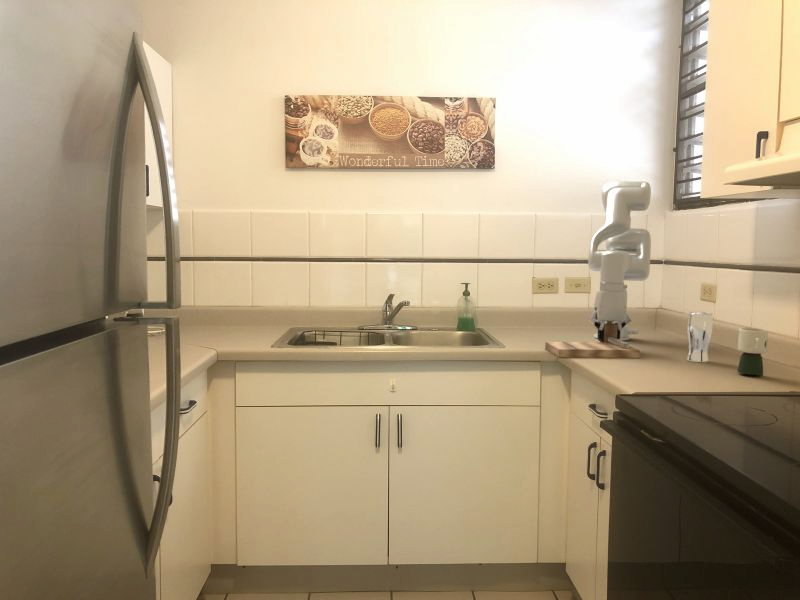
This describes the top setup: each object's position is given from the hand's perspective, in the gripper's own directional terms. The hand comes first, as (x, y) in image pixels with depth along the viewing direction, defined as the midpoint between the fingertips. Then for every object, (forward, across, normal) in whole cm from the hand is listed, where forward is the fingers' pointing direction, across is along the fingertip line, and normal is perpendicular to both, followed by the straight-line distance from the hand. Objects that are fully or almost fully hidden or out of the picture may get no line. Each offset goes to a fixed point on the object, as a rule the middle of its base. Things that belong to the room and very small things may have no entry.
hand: (608, 340), depth 213 cm
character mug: (+3, -24, +40) cm, 47 cm away
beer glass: (+3, -20, +20) cm, 29 cm away
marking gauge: (+2, 0, +6) cm, 7 cm away
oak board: (+3, +10, +9) cm, 13 cm away
